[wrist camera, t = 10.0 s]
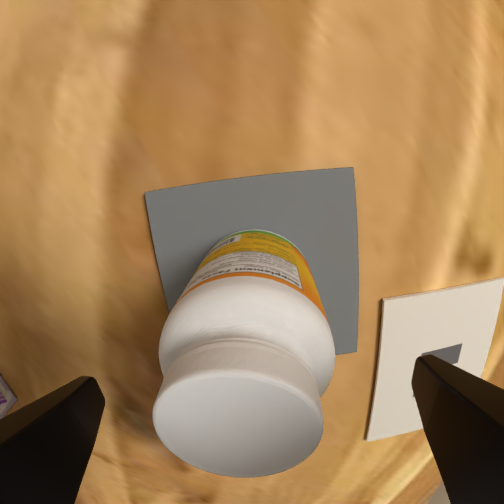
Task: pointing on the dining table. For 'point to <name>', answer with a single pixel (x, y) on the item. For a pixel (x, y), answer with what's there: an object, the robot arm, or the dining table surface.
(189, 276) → the slate mat
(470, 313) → the tile
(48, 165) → the dining table surface
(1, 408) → the cake pan box
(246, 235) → the supplement bottle
